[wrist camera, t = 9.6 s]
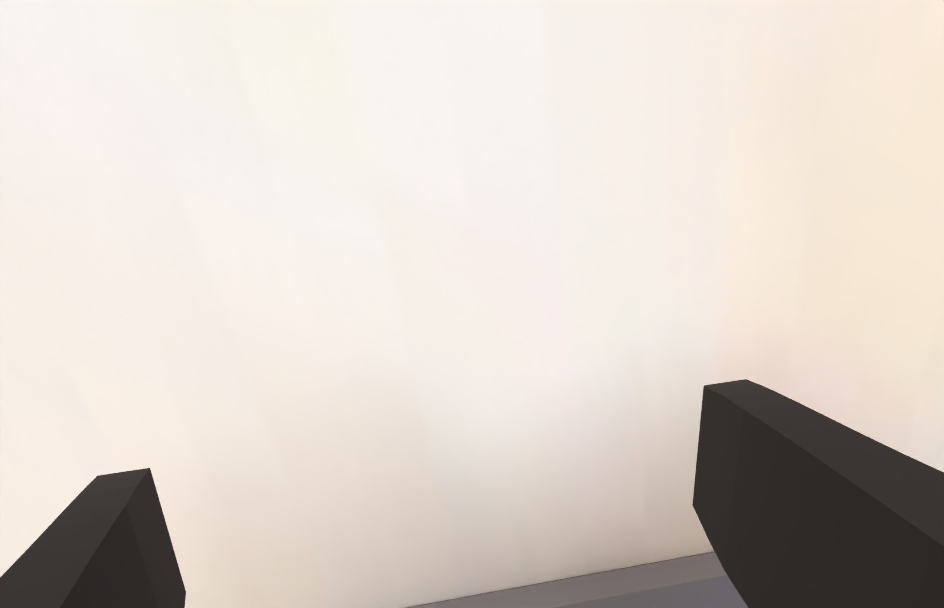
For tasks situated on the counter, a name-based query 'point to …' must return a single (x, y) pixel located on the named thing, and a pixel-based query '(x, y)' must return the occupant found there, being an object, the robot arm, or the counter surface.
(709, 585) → the mounting socket
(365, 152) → the counter surface
